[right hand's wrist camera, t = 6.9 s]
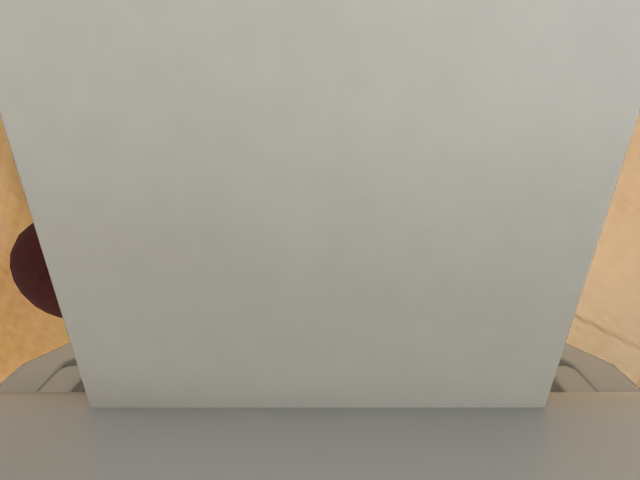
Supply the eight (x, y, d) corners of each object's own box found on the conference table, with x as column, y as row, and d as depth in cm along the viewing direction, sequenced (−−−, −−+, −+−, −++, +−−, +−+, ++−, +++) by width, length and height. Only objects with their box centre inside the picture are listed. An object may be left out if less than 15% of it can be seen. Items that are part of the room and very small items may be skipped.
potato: (53, 194, 24) (-46, 228, 18) (166, 192, 24) (109, 225, 18) (81, 289, 27) (5, 349, 20) (183, 287, 27) (140, 347, 20)
